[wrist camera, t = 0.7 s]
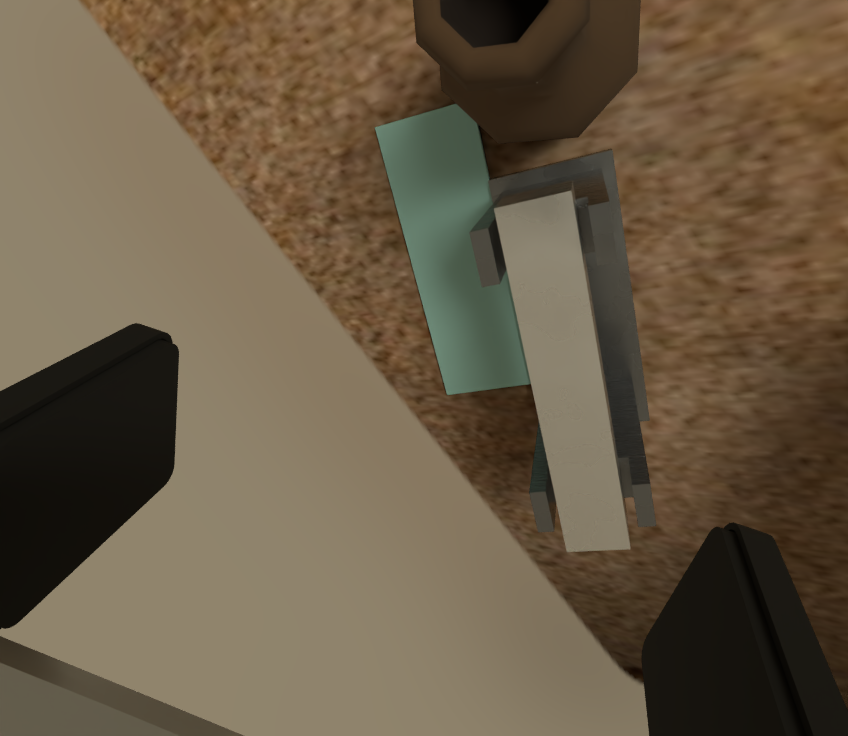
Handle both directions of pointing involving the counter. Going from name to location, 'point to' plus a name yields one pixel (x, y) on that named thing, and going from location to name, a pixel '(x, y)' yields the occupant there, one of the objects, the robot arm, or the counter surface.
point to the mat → (452, 247)
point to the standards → (610, 309)
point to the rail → (564, 363)
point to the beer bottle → (531, 60)
